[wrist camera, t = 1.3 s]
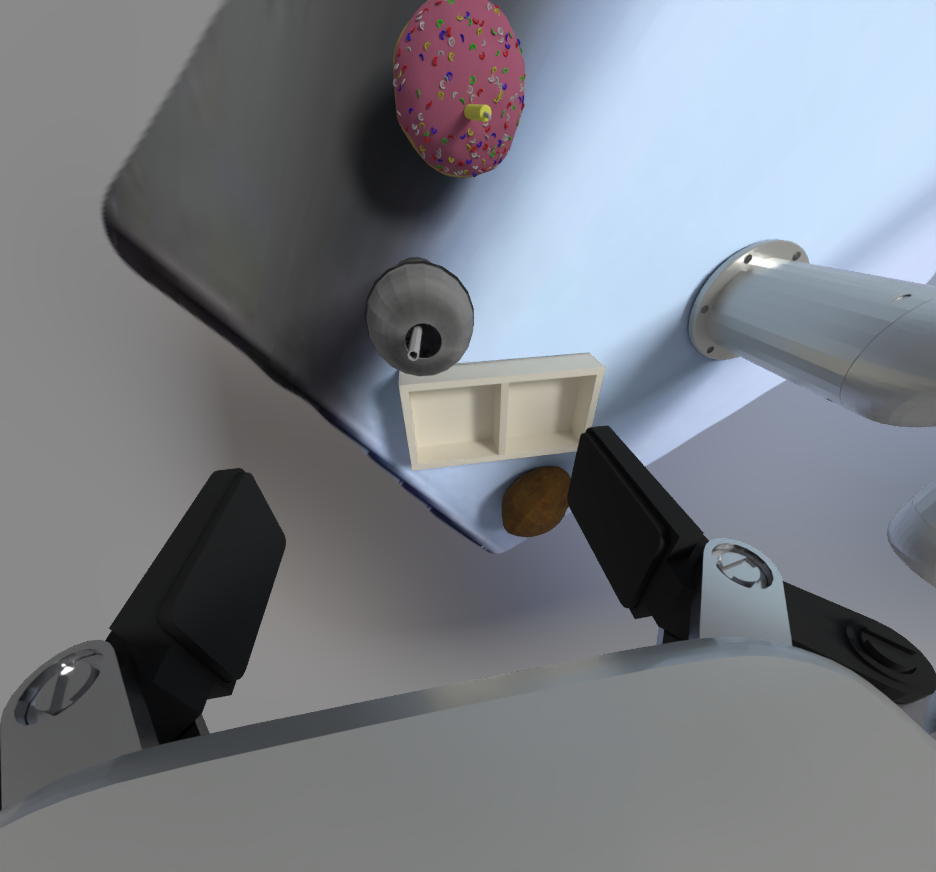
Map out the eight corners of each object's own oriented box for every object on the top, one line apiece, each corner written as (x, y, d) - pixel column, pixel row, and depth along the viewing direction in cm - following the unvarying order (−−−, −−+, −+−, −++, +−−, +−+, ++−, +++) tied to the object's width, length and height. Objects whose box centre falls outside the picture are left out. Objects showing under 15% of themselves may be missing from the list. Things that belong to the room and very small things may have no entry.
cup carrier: (589, 352, 39) (605, 367, 36) (573, 432, 46) (586, 450, 42) (399, 368, 37) (398, 385, 33) (411, 449, 43) (412, 470, 40)
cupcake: (516, 161, 28) (575, 145, 18) (418, 194, 28) (424, 196, 18) (494, 1, 23) (559, -139, 13) (374, 45, 23) (351, -60, 13)
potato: (575, 463, 49) (599, 503, 43) (525, 518, 55) (541, 560, 48) (531, 445, 46) (551, 485, 40) (483, 505, 51) (494, 548, 45)
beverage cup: (406, 335, 35) (407, 459, 19) (359, 268, 31) (309, 352, 15) (468, 297, 33) (525, 395, 17) (428, 221, 29) (455, 258, 13)
